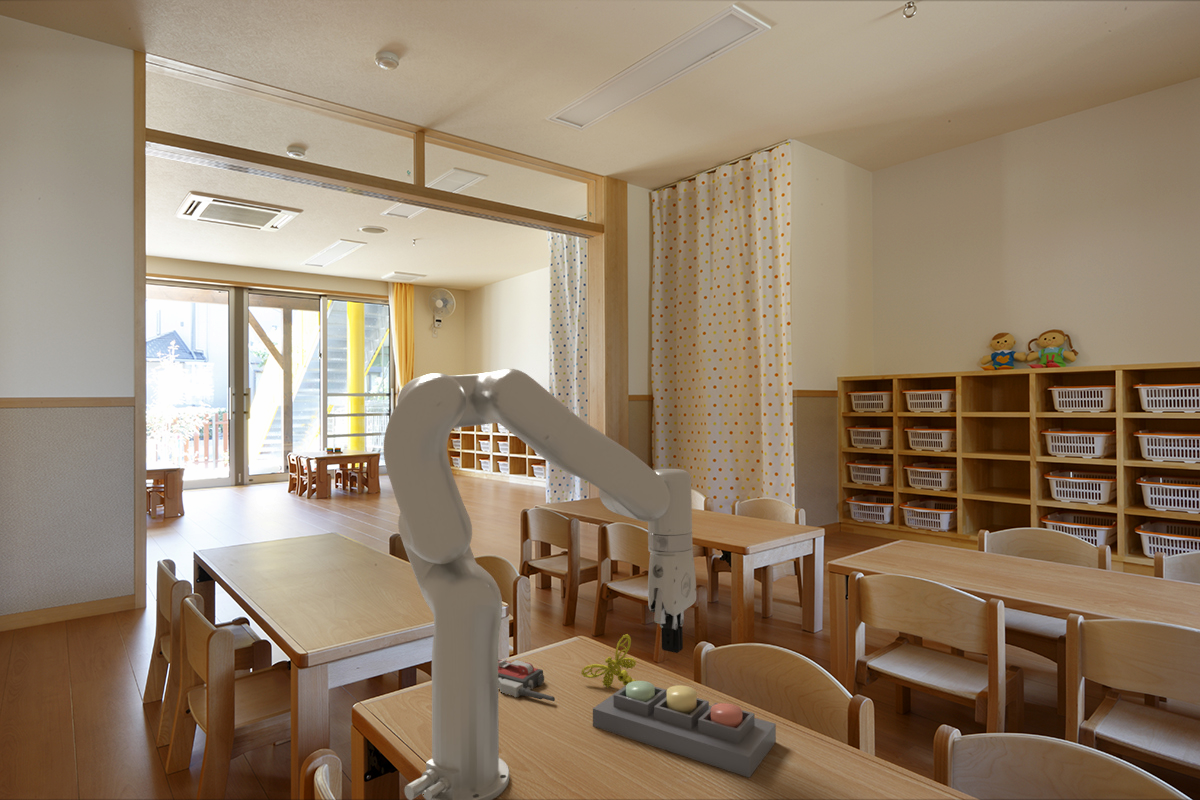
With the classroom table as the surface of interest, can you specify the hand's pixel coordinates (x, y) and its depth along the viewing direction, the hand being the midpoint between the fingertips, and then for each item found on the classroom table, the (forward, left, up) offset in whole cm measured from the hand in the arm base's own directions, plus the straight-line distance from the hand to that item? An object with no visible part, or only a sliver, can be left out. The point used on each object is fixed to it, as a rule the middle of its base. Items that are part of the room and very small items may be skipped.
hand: (672, 649), depth 108 cm
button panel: (0, -2, -14) cm, 14 cm away
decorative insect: (+9, +18, -14) cm, 24 cm away
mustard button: (0, -2, -9) cm, 9 cm away
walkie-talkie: (-1, +33, -14) cm, 36 cm away
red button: (0, -10, -10) cm, 14 cm away
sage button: (0, +6, -10) cm, 12 cm away
